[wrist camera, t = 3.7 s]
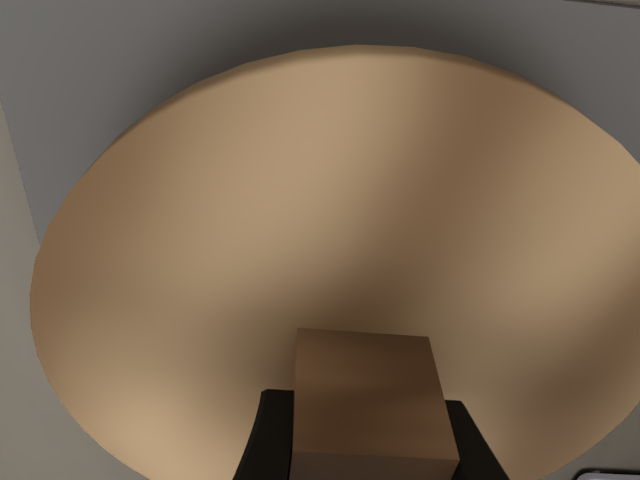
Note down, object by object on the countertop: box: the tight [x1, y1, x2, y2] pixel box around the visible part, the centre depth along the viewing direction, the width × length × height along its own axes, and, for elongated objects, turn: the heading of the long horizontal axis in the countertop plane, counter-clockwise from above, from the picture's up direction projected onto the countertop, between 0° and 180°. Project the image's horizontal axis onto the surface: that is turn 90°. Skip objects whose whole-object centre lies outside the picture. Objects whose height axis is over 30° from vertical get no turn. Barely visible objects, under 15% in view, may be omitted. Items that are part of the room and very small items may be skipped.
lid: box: [30, 45, 640, 480], centre depth 11 cm, size 15×15×4 cm
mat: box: [0, 0, 640, 246], centre depth 17 cm, size 20×16×1 cm
